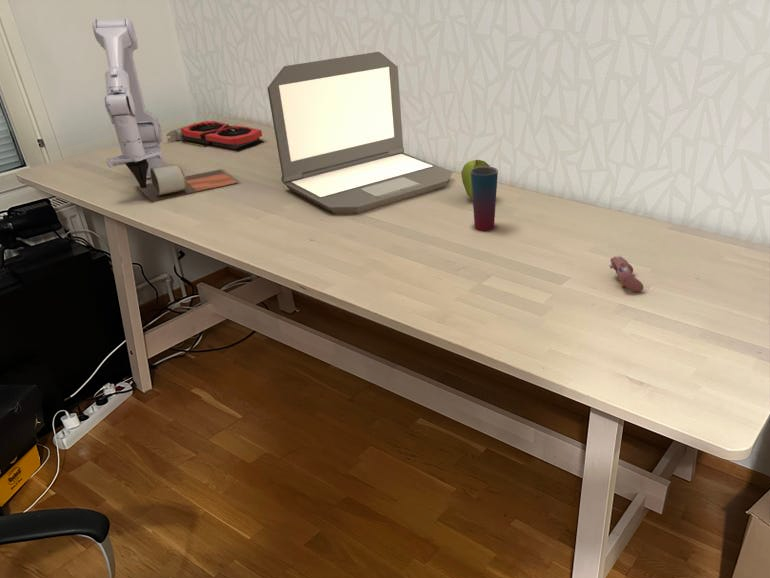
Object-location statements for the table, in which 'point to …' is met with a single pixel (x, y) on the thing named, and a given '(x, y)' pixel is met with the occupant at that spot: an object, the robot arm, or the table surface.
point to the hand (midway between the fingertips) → (143, 187)
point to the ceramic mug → (168, 179)
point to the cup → (484, 196)
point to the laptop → (346, 134)
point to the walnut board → (193, 185)
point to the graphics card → (217, 135)
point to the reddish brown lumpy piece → (625, 274)
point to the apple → (467, 174)
